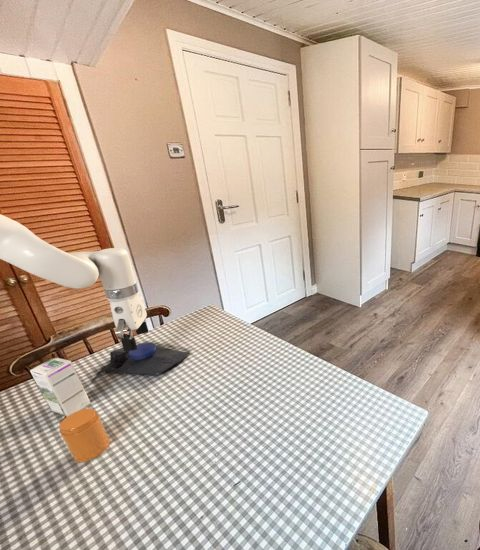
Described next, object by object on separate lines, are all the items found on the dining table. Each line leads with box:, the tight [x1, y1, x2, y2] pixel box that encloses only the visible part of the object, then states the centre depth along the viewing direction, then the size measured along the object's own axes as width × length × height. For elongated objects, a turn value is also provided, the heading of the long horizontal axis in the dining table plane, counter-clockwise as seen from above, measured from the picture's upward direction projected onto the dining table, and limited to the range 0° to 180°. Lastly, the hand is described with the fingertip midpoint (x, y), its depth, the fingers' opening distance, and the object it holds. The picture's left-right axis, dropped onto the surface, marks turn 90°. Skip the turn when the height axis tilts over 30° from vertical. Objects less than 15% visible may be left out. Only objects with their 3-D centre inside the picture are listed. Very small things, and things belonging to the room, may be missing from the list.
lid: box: [129, 342, 157, 360], centre depth 96 cm, size 7×7×2 cm
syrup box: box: [29, 356, 91, 419], centre depth 78 cm, size 6×6×14 cm
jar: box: [58, 408, 111, 463], centre depth 68 cm, size 6×6×9 cm
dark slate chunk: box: [101, 344, 190, 376], centre depth 98 cm, size 15×22×5 cm
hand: (137, 341), depth 94 cm, fingers open, 9 cm apart
